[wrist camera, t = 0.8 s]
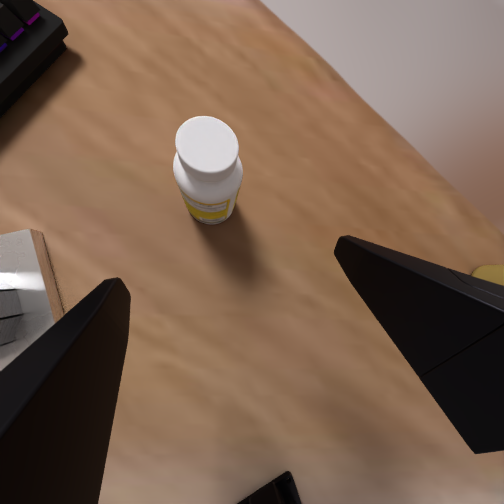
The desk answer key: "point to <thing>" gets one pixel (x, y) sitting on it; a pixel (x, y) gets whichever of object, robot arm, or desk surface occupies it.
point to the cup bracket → (25, 293)
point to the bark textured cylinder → (490, 273)
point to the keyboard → (26, 47)
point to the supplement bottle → (207, 168)
